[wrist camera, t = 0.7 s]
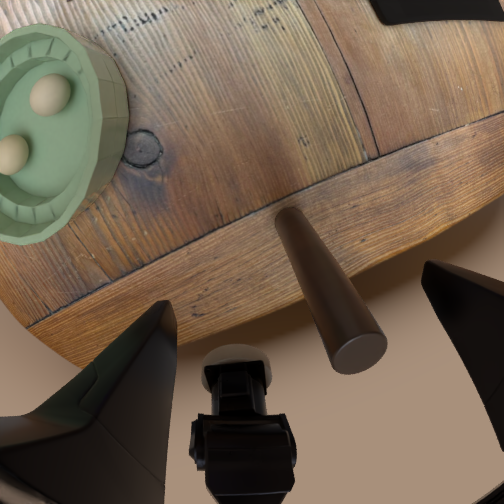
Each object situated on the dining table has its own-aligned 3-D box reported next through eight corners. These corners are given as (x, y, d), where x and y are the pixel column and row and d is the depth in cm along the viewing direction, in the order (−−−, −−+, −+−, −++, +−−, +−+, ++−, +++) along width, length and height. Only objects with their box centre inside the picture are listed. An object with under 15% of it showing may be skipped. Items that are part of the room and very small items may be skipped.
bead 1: (38, 164, 16) (16, 173, 14) (13, 173, 16) (-9, 184, 14) (32, 126, 15) (8, 131, 12) (7, 138, 15) (-17, 145, 12)
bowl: (146, 200, 19) (123, 227, 15) (8, 230, 19) (-24, 256, 14) (123, 11, 13) (96, -13, 8) (-17, 80, 12) (-55, 83, 8)
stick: (304, 233, 21) (381, 367, 10) (275, 237, 21) (328, 380, 10) (304, 205, 20) (394, 326, 9) (273, 208, 20) (335, 339, 9)
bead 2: (80, 108, 15) (58, 109, 12) (47, 120, 15) (23, 124, 12) (76, 69, 14) (54, 64, 11) (43, 83, 14) (20, 82, 11)
